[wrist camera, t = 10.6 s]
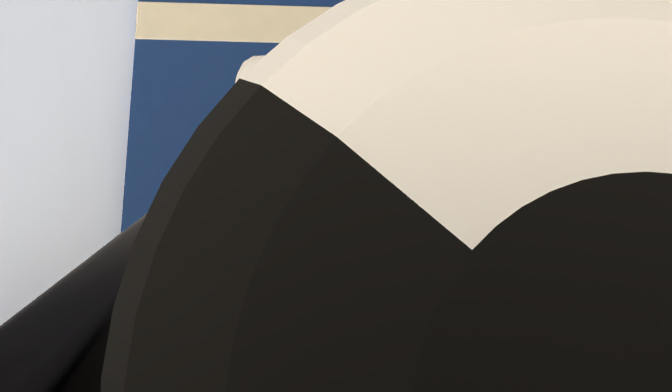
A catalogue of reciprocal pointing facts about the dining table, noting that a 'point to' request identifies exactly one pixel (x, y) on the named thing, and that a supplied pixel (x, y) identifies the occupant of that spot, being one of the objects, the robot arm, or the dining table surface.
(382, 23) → the medicine bottle
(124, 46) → the dining table surface
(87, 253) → the dining table surface
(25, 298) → the dining table surface
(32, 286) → the dining table surface
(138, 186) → the cloth
